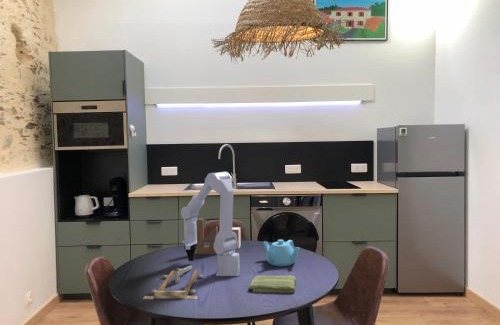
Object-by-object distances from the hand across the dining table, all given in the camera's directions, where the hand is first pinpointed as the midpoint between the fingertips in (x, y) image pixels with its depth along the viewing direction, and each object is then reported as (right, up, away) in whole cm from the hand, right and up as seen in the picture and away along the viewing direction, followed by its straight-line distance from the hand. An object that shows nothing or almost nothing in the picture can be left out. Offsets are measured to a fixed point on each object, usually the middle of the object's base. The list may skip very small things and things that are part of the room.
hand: (191, 260), depth 178 cm
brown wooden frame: (+6, -1, +16) cm, 17 cm away
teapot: (+42, -1, -1) cm, 42 cm away
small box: (+18, 0, +26) cm, 32 cm away
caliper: (-1, -3, -15) cm, 15 cm away
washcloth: (+37, -3, -30) cm, 47 cm away
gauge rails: (-1, -3, -25) cm, 26 cm away
